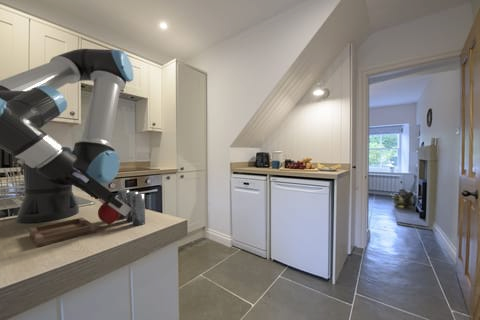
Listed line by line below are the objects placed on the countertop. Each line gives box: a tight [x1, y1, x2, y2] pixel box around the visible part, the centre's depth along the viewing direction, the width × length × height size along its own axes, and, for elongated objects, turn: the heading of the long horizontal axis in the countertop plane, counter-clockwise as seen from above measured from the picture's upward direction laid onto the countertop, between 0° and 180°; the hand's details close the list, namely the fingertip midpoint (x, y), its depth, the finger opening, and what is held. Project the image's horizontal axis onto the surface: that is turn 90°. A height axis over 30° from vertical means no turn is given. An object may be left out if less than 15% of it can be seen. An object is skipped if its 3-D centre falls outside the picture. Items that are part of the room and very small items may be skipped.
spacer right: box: [132, 192, 146, 227], centre depth 61 cm, size 3×3×9 cm
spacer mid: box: [126, 190, 139, 223], centre depth 64 cm, size 3×3×9 cm
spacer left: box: [117, 189, 131, 220], centre depth 67 cm, size 3×3×9 cm
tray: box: [29, 217, 96, 248], centre depth 53 cm, size 11×11×2 cm
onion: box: [97, 202, 121, 226], centre depth 59 cm, size 6×6×8 cm
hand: (123, 210), depth 62 cm, fingers closed on onion, 6 cm apart
